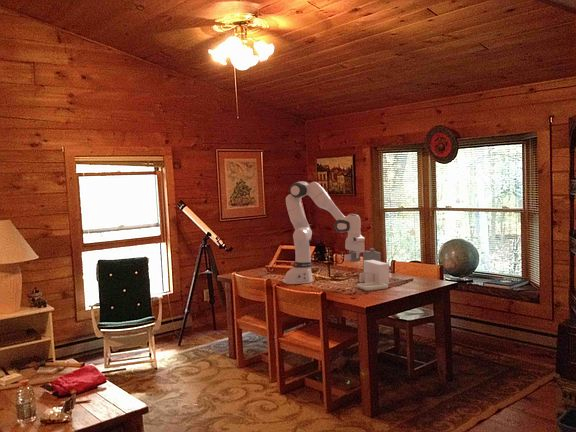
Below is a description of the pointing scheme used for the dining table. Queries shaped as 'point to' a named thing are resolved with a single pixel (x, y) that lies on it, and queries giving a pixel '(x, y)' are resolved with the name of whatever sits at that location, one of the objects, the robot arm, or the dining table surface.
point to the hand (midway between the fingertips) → (354, 257)
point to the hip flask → (371, 256)
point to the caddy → (351, 257)
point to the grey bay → (375, 272)
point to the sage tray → (372, 286)
